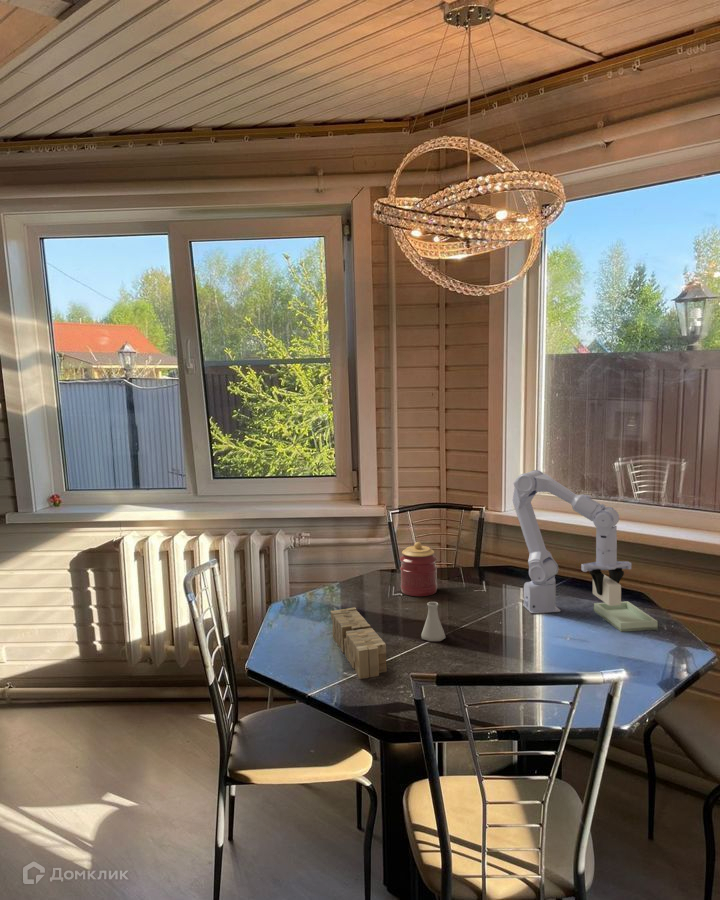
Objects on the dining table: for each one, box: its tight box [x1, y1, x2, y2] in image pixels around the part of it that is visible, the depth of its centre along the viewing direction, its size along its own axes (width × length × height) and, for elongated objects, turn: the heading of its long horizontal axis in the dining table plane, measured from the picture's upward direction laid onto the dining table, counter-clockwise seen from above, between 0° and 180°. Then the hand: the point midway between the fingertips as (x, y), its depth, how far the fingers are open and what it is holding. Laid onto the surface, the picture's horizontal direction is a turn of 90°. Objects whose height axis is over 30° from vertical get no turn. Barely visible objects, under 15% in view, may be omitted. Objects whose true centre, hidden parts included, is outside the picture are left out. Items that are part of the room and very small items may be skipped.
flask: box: [420, 601, 447, 642], centre depth 180 cm, size 7×7×10 cm
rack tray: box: [593, 600, 659, 633], centre depth 189 cm, size 11×17×2 cm, turn 5°
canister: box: [399, 541, 438, 597], centre depth 221 cm, size 13×13×18 cm
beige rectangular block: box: [592, 574, 622, 606], centre depth 188 cm, size 4×11×6 cm, turn 4°
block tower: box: [330, 607, 388, 680], centre depth 171 cm, size 8×8×29 cm
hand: (606, 593), depth 188 cm, fingers closed on beige rectangular block, 3 cm apart
